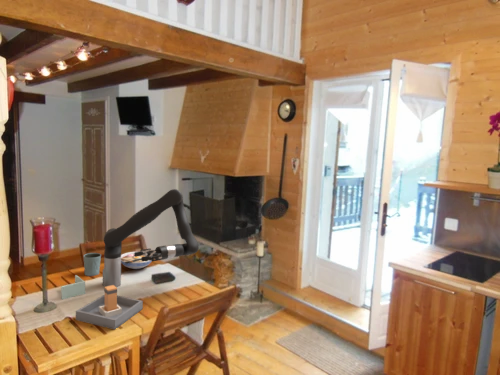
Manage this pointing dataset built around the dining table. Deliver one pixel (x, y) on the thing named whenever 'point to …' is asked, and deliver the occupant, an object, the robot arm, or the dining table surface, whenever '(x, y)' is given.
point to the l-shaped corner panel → (73, 288)
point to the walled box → (109, 312)
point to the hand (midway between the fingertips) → (138, 256)
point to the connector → (110, 298)
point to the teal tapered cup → (92, 264)
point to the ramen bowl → (133, 261)
